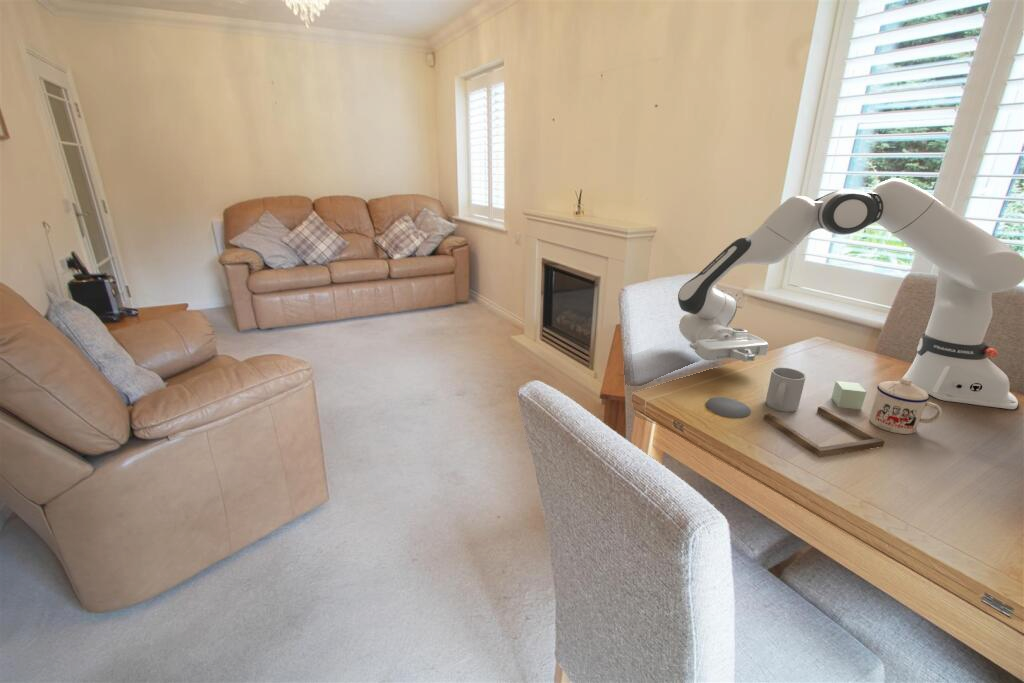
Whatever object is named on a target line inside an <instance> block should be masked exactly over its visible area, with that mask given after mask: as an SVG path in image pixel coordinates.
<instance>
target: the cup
mask: <svg viewBox="0 0 1024 683" xmlns="http://www.w3.org/2000/svg"><path fill="white" fill-rule="evenodd" d="M806 377H807V376H806V374H805V373H804V372H802V371H800V370H797V369H794V368H789V367H782V366H781V367H774V368H772V370H771V375H770V378H769V379H770V380H769V383H768V389H767V394H766V398H765V402H766V403H765V404H766V405H767V406H768V407H770V408H771V409H773V410H776V411H779V412H784V413H792V412H795V411H797V410H799V407H800V403H801V399H802V394H803V390H804V386H805V382H806Z"/></svg>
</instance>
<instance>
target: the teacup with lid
mask: <svg viewBox="0 0 1024 683" xmlns="http://www.w3.org/2000/svg"><path fill="white" fill-rule="evenodd" d="M876 387H877V391H876V395H875V398H874V402H873V404H872V408H871V411H870V414H869V418H868V419H869V422H870V423H871V424H873V425H874V426H876V427H878V428H879V429H881V430H884V431H887V432H891V433H894V434H902V435H911V434H914V433H916V432H917V430H918V427H919V424H920V423H921V424H932V423H935V422H936V421H938V420H940V418H942V415H943V410H942V407H941V406H939V405H938V404H937V403H933V402H931V401H929V400H930V396H929V394H928V393H927V392H926V391H924V390H923V389H921V388H919V387H917V386H915V385H914V384H912V381H911V380H910V379H907V378H903V377H902V378H900V379H899V380H894V381H891V380H888V381H882V382H880V383H878V385H877V386H876ZM925 406H926V407H931V408H934V409H936V410H937V413H936V414H935V415H934V416H932V417H930V418H922V415H923V412H924V409H925Z"/></svg>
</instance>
